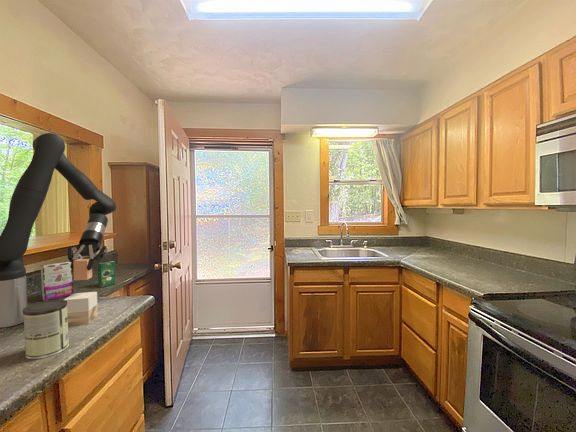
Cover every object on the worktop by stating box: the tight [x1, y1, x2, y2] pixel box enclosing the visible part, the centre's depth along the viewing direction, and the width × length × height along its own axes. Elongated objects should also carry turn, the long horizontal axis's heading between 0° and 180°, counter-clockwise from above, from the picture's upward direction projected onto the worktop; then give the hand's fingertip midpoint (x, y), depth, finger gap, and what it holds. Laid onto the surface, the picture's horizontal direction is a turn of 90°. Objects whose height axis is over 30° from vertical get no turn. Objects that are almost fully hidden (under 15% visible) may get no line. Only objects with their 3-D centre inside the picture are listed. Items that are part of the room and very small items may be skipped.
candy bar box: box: [40, 261, 74, 302], centre depth 135 cm, size 11×5×16 cm, turn 143°
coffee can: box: [23, 299, 70, 360], centre depth 85 cm, size 10×10×14 cm
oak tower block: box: [67, 304, 99, 327], centre depth 107 cm, size 8×8×5 cm
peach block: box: [73, 258, 93, 282], centre depth 109 cm, size 4×4×8 cm
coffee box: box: [97, 260, 116, 288], centre depth 154 cm, size 8×3×13 cm, turn 153°
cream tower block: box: [63, 291, 98, 313], centre depth 107 cm, size 8×8×5 cm
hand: (80, 269), depth 107 cm, fingers closed on peach block, 4 cm apart
